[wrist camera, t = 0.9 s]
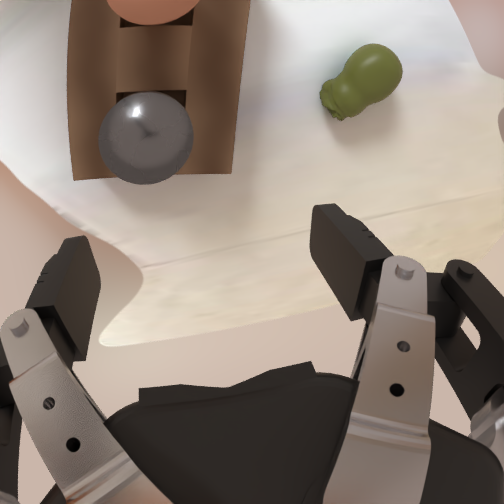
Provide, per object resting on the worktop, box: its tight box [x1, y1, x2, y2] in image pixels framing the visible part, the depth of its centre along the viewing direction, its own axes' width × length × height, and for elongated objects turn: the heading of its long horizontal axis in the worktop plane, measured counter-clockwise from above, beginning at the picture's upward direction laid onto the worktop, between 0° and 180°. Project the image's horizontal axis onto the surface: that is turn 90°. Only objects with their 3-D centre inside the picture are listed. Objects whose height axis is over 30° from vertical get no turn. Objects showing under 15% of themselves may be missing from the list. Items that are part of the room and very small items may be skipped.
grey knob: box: [98, 91, 194, 184], centre depth 21 cm, size 6×6×6 cm
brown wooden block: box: [67, 0, 251, 181], centre depth 21 cm, size 14×20×5 cm
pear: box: [320, 44, 403, 121], centre depth 27 cm, size 6×5×10 cm
